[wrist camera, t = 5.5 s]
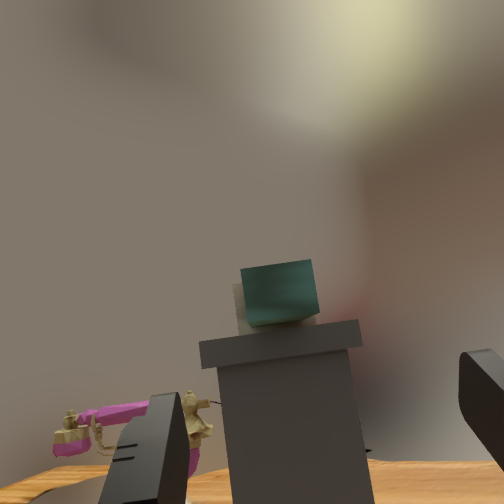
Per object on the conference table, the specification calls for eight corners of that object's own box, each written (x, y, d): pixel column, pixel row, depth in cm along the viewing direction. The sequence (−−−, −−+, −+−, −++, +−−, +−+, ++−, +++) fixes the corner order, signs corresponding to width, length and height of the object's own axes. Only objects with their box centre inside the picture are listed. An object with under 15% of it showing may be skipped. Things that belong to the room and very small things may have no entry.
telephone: (21, 612, 60) (15, 420, 65) (97, 537, 82) (88, 398, 87) (280, 588, 57) (253, 388, 62) (286, 517, 79) (266, 374, 84)
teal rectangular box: (302, 328, 46) (296, 290, 46) (339, 319, 24) (327, 248, 25) (244, 337, 46) (239, 298, 46) (230, 334, 24) (221, 263, 25)
